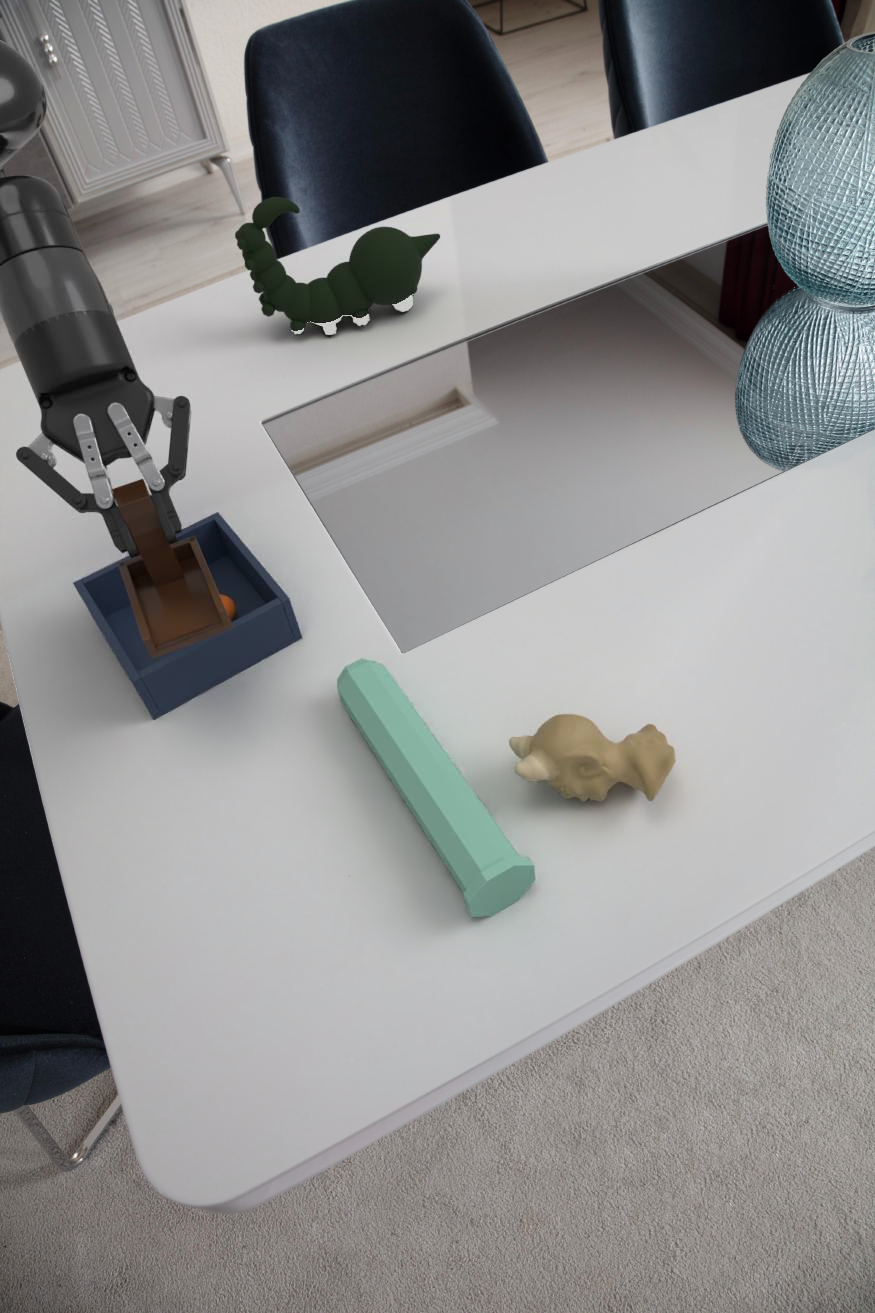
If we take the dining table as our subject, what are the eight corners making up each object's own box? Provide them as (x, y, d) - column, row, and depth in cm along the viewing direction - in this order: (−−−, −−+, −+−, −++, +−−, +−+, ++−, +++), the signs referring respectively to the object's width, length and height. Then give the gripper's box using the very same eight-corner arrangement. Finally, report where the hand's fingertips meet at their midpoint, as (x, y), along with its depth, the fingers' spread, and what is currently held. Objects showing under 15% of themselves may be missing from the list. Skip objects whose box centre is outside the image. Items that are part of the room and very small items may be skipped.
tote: (154, 720, 84) (132, 682, 80) (95, 621, 93) (72, 582, 89) (302, 638, 89) (289, 597, 84) (232, 551, 98) (217, 511, 93)
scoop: (233, 628, 71) (198, 541, 64) (152, 659, 70) (108, 573, 63) (202, 554, 77) (167, 467, 70) (127, 581, 75) (84, 495, 69)
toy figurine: (281, 367, 123) (460, 310, 123) (229, 229, 108) (432, 164, 108) (272, 332, 129) (443, 277, 129) (221, 196, 114) (414, 135, 114)
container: (329, 651, 79) (479, 877, 64) (390, 641, 82) (547, 854, 67) (319, 702, 82) (459, 927, 67) (377, 691, 86) (524, 904, 70)
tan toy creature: (685, 775, 68) (526, 746, 67) (654, 843, 72) (503, 817, 71) (666, 707, 75) (521, 681, 74) (638, 773, 78) (500, 748, 77)
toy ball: (204, 591, 88) (229, 585, 90) (193, 612, 90) (218, 605, 92) (221, 614, 87) (246, 607, 89) (210, 634, 89) (235, 627, 91)
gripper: (-46, 341, 64) (55, 578, 65) (151, 282, 66) (242, 510, 68) (-17, 373, 71) (72, 584, 72) (158, 318, 74) (241, 523, 75)
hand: (154, 547), depth 70 cm, fingers closed on scoop, 2 cm apart
